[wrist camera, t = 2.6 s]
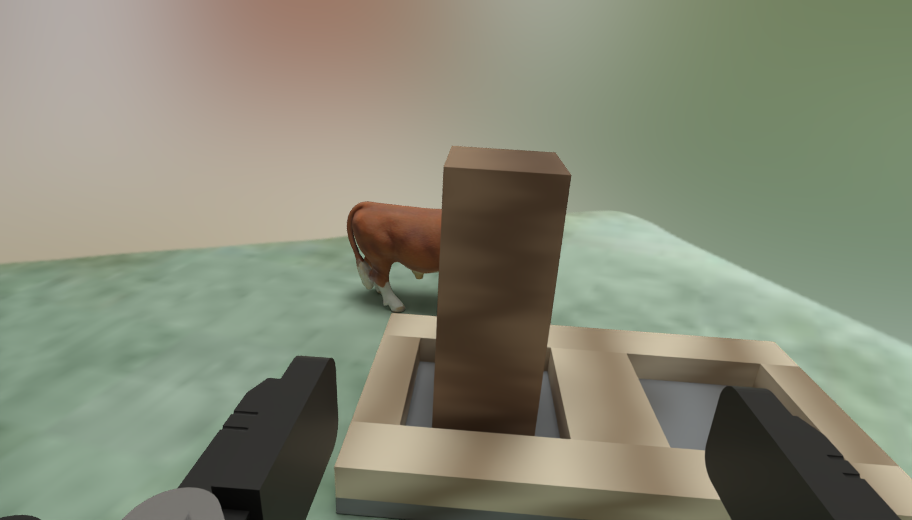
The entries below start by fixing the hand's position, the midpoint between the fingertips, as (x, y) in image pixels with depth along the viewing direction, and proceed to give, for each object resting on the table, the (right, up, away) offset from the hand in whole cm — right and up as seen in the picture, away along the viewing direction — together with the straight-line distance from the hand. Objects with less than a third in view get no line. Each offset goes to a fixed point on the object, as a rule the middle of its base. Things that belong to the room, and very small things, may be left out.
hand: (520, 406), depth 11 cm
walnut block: (0, -4, +14) cm, 14 cm away
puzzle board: (+5, -5, +14) cm, 16 cm away
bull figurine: (-2, 0, +25) cm, 25 cm away
